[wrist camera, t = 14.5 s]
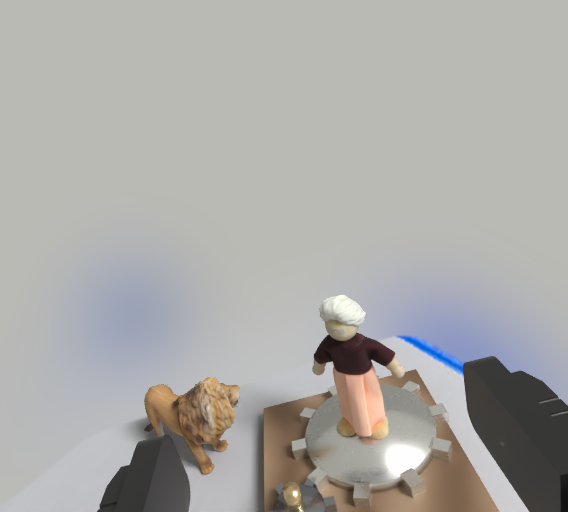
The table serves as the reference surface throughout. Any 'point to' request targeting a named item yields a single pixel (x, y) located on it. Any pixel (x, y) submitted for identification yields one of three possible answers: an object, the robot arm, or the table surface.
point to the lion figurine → (194, 415)
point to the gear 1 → (302, 499)
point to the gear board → (385, 505)
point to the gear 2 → (374, 446)
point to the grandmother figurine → (354, 368)
